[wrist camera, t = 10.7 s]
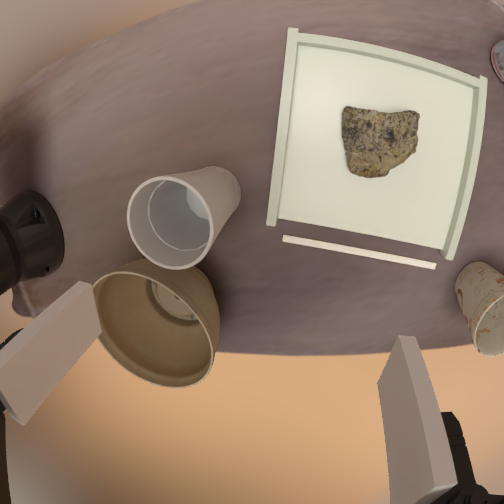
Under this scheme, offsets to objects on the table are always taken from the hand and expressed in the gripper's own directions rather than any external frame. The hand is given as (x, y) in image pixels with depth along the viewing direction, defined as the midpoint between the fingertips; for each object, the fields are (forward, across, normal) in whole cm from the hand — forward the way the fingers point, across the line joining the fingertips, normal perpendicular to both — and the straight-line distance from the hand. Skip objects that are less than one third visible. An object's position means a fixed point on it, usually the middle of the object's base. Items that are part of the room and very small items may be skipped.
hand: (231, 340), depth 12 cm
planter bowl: (+25, -12, -14) cm, 31 cm away
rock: (+23, +9, +8) cm, 26 cm away
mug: (+23, +28, -5) cm, 37 cm away
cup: (+25, -8, 0) cm, 26 cm away
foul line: (+24, +10, -5) cm, 26 cm away
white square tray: (+24, +10, +7) cm, 27 cm away
